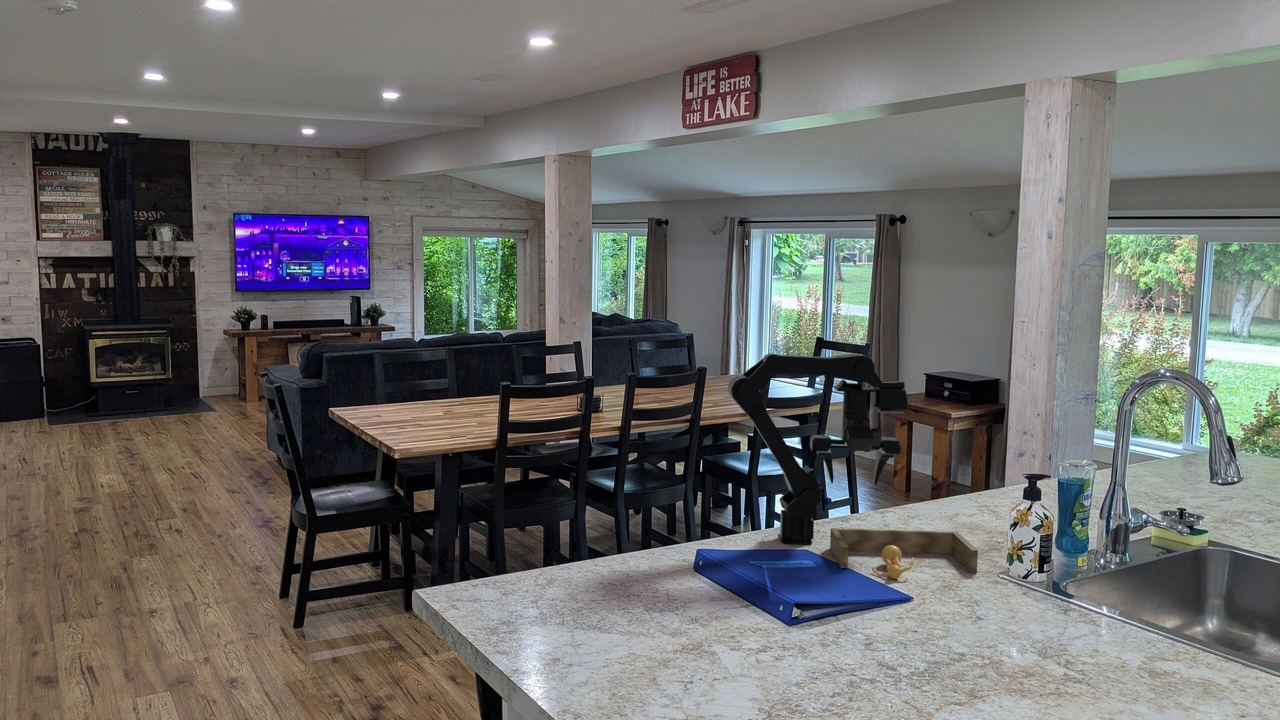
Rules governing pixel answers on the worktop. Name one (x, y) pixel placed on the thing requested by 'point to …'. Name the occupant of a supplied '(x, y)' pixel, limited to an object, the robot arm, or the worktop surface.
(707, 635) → the worktop surface
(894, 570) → the figurine
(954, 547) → the three-sided wooden wall
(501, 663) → the worktop surface
